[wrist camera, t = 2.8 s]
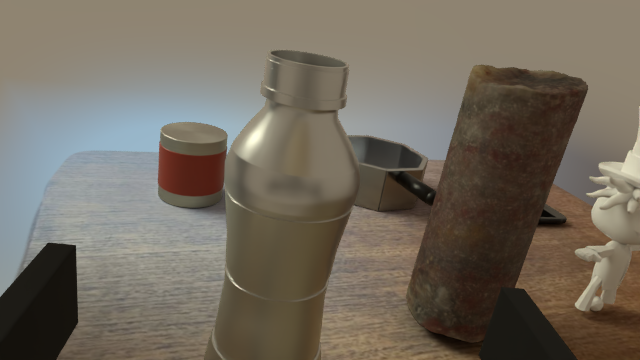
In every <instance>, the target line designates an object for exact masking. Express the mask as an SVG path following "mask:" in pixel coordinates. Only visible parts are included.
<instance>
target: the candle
mask: <svg viewBox="0 0 640 360" xmlns="http://www.w3.org/2000/svg"><path fill="white" fill-rule="evenodd" d="M587 90H588V85H586V82H584V81H583V80H582V79H581V78H576V77H570V76H568V75H566V74H561V73H559V72H554V71H543V70H538V71H529V70H527V69H518V68H514V67H513V68H512V67H511V68H495V67H493V66H489V65H487V66H485V65H476V66H474V67H473V69H472V71H471V73H470V76H469V79H468V84H467V87H466V90H465V94H464V97H463V101H462V105H461V108H460V111H459V115H458V118H457V123H456V126H455V129H454V133H453V136H452V139H451V142H450V146H449V149H448V153H447V157H446V160H445V164H444V167H443V171H442V175H441V178H440V182H439V185H438V189H437V192H436V196H435V199H434V202H433V206H432V209H431V213H430V216H429V219H428V223H427V226H426V229H425V232H424V236H423V239H422V243H421V246H420V249H419V252H418V256H417V259H416V262H415V266H414V269H413V273H412V277H411V280H410V283H409V286H408V290H407V294H406V299H407V303H408V307H409V309H410V311H411V313H412V315H413V317H414V318H415V319H416V321H417V322H418V323H419V324H420V325H421V326H423V327H425V328H426V329H428V330H429V331H431V332H434V333H439V334H443V335H446V336H448V337H452V338H455V339H460V340H462V341H467V342H471V343H474V342H480V341H482V340H484V337H485V334H486V331H487V328H488V325H489V323H490V320H491V317H492V314H493V311H494V308H495V305H496V302H497V299H498V296H499V293H500V290H501V287H508V288H515V285H516V283H517V280H518V277H519V275H520V272H521V269H522V266H523V263H524V260H525V258H526V255H527V252H528V249H529V247H530V244H531V241H532V238H533V235H534V233H535V230H536V227H537V224H538V222H539V219H540V217H541V214H542V211H543V208H544V206H545V203H546V200H547V198H548V195H549V192H550V189H551V186H552V184H553V181H554V178H555V176H556V173H557V170H558V168H559V166H560V163H561V160H562V158H563V155H564V152H565V149H566V147H567V144H568V141H569V138H570V136H571V133H572V131H573V128H574V125H575V123H576V121H577V118H578V115H579V112H580V109H581V107H582V104H583V102H584V99H585V96H586V94H587Z"/></svg>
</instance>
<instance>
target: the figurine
mask: <svg viewBox="0 0 640 360" xmlns="http://www.w3.org/2000/svg"><path fill="white" fill-rule="evenodd" d="M599 170H600V172H601V173H602V174H604V175H605V177H604V176H603V177H598V178H595V177H591V176H590V180H591V181H592V182H594V183H598V184H604V185H607V186H608V187H606V188H605V189H602V190H598V191H596V192H594V193H587V194H586V195H587V196H588V197H591V198H598V199H597V201H596V203H595V204H594V206H593V208H592V211H591V217H592V222H593V223H594V224H595V225H596V227H597V228H598V229H599V230H600V231H601V232H603V233H604V234H605V235H606V236H608V237H609V238H611V239H612V241H610V242H609V243H607V244H606V245H605V246H587V247H586V248H583V249H577V250H576V251H575V254H576V255H577V256H578V257H579V258H581V259H583V260H585V261H588V262H589V261H594V262H596V264H595V267H594V270H593V274H592V278H591V282H590V284H589V285H588V287H587V288H586V289H585V291H584V292H583V294H582V295H581V296H580V298H579V299H578V301H577V302H576V303H575V306H576V308H577V309H580V310H582V311H589V309H590V310H593V311H599V310H601V309H602V307H603V302H604V303H608V304H613V303H614V302H615V297H616V291H617V288H618V287H619V286H620V284H621V282H622V280H623V278H624V276H625V274H626V272H627V269H628V266H629V264H630V260H631V251H640V105H639V130H638V136H637V141H636V143H635V146H634V148H633V150H632V151H629V152H628V155H627V157H626V160H625V162H624V163H619V162H601V163H600V164H599ZM601 285H602V290H603V292H602V295H601V297H598V296H595V294H596V291H597V290H598V288H599V287H600V286H601ZM617 286H618V287H617Z"/></svg>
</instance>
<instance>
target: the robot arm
mask: <svg viewBox="0 0 640 360" xmlns="http://www.w3.org/2000/svg"><path fill="white" fill-rule="evenodd" d="M77 323H78V305H77V270H76V245H67V244H57V243H47V245H46V246H45V247H44V248H43V249H42V250H41V251H40V253H39V254H38V255H37V256H36V257H35V258H34V259H33V260H32V262H31V263H30V264H29V265H28V266H27V267H26V268H25V270H24V271H23V272H22V273H21V274H20V275H19V276H18V277H17V279H16V280H15V281H14V282H13V283H12V284H11V286H10V287H9V288H8V289H7V290H6V291H5V292H4V293H3V295H2V296H1V297H0V360H56V359H57V357H58V355H59V354H60V352H61V350H62V349H63V347H64V345H65V344H66V342H67V340H68V339H69V337H70V335H71V334H72V332H73V330H74V328H75V327H76V325H77ZM479 356H480V358H481V360H577V358H576V357H575V356H574V354H573V353H572V352H571V350H570V349H569V348H568V346H567V345H566V344H565V343H564V341H563V340H562V339H561V337H560V336H559V335H558V333H557V332H556V331H555V329H554V328H553V327H552V325H551V324H550V323H549V321H548V320H547V319H546V317H545V316H544V315H543V314H542V312H541V311H540V310H539V308H538V307H537V306H536V304H535V303H534V302H533V300H532V299H531V298H530V296H529V295H528V294H527V292H526V291H525V290H524V289H518V288H508V287H501V290H500V293H499V296H498V299H497V302H496V305H495V308H494V311H493V314H492V317H491V320H490V323H489V325H488V328H487V331H486V334H485V337H484V340H483V343H482V346H481V349H480V352H479Z"/></svg>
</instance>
